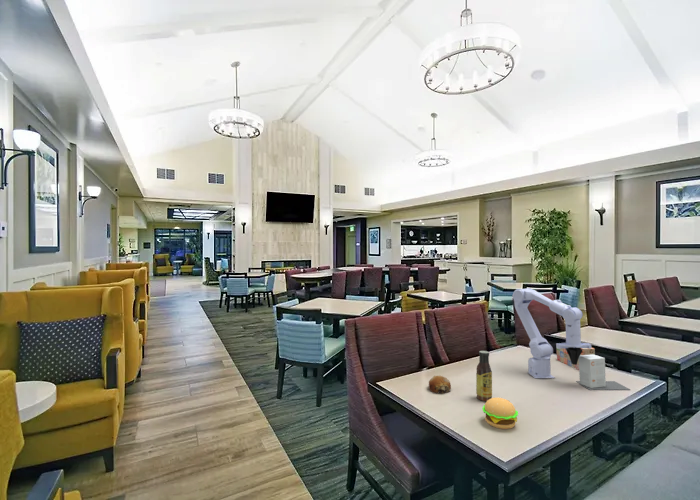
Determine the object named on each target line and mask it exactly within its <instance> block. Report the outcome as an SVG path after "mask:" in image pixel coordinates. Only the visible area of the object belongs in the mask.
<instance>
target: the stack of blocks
mask: <svg viewBox="0 0 700 500" xmlns="http://www.w3.org/2000/svg"><path fill="white" fill-rule="evenodd" d="M555 348H556V347H555ZM581 349H582V353H581V354H580V355H591V354H594V355H596V354H595V352H596V351H595V350H596V349H595V348H594V347H592V346H591V349H589V348H581ZM556 360H557V361H558V362H561V363H563V364H565V365H567V366H569V367H571V368H573V369H575V368H576V369H575V370H577V369H578V370H577V371H579V359H578V362H577V365H573V364H572V363H571V360H570V357H569V355H568V353H567V351H566V349H565V348H561V349H558V348H556Z"/></svg>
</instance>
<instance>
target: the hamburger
mask: <svg viewBox="0 0 700 500" xmlns="http://www.w3.org/2000/svg"><path fill="white" fill-rule="evenodd" d="M482 411H483V413H484V414H485V417H484V419H485V421H486V422H487V424H488V425H490V426H491V427H494V428H496V429H502V430H508V429H512V428H514V427H515V425H516V423H517V422H518V416H519V411H518V410H516V407H515V406H514V404H513V403H512V402H510V400H508V399H506V398H503V397H492V398H491V399H489V400H487V401H485V403H484V405H483V406H482Z"/></svg>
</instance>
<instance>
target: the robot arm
mask: <svg viewBox="0 0 700 500" xmlns="http://www.w3.org/2000/svg"><path fill="white" fill-rule="evenodd" d="M511 297H512V299H513V302H514V303H513V304H514V308H515V310H516V314H517V315H518V318H519V319H520V321H521V323H522V326H523V328H524V329H525V331H526V332H525V333H526V334H527V336H528V338H529V340H530V341H529V344H528V346H529V348H530V349H529V352H530V354H531V356H532V357H529V358H528V361H527V363H528V364H527V365H528V366H527V368H528V371H527V374H529V375H530V376H532V377H533V378H534V379H555V378H556V377H555V376H554V375H552V374H551V373H552V370H551V368H552V367H551V356H552V355H553V353H554V348H553V346H552V345H551V344H550V343H549V342H548V340H547V339H546V338H545V337H543V336H542V335H541V333H540V330H539V328H538V327H537V324H536V322H535V320H534V319H533V317H532V314H531V312H530V311H529V308H528V307H529V305H530V303H531V302H532V301H536V302H538V303H541V304H543V305H545V306H547V307H549V310H550V311H551V312H553V313H555V314H557V315H559V316H561V317H562V318H563V319H564V321H565V322H564V323H565V342H561V343H560V342H559V343H555V345H556V347H555V348H558V349H561V348H565V349H566V351H567V353H568V355H569V357H570V360H571V363H572V364H573V365H577V362H578V359H579V356H580V354H581V353H582V349H581V348H589V349H591V347H592V344H591V343H589V342H585V343H584V342H582V335H581V333H582V331H581V319H582V318H583V311H582V310H581V309H580V308H578V307H576V306H575V307H574V306H573V307H572V306H571V304H566V303H563V301H562V300H561V299H554V300H552V299H550V298H549V297H547V296H545V295H543V294H541V293H540V292H539V291H537V290H535V289H532V288H531V287H526V288H516V289H515V290H514V291H513V293H512V296H511Z"/></svg>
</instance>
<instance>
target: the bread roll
mask: <svg viewBox="0 0 700 500" xmlns="http://www.w3.org/2000/svg"><path fill="white" fill-rule="evenodd" d="M451 385H452V384H451V381H450V379H448V378H447V377H445V376H443V375H434V376H433V377H432V378H430V379H429V381H428V389H429V391H430V392H432V393H435V394H441V395H442V394H443V395H444V394H447V393H449V392H450V390H452V386H451Z"/></svg>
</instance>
